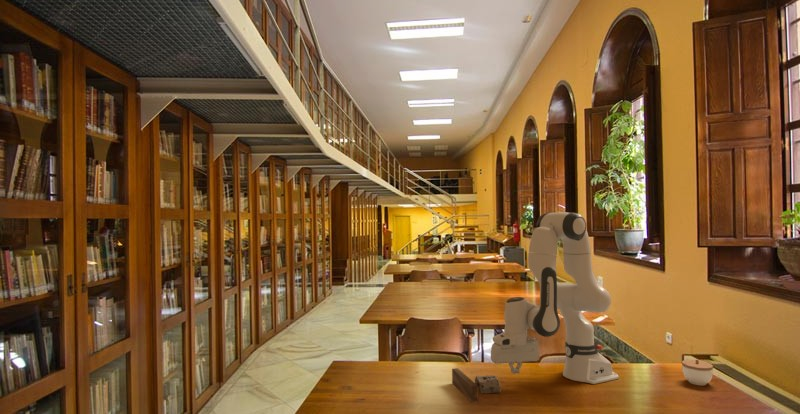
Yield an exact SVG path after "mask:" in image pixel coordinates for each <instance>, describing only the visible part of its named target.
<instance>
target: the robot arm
mask: <svg viewBox="0 0 800 414" xmlns="http://www.w3.org/2000/svg"><path fill="white" fill-rule="evenodd" d="M559 240H562V252H563V253H562V254H563V255H562V257H563V259H562V260H563V269H564V272H565V273H566V274H567V275H568V276H570V277H571V278H572V279H573V280H574V281H575V283H569V282H564V283H563V282H562V283H558V278H557V254H558V242H559ZM527 255H528V256H527V258H528V259H527V262H528V264H527V265H528V269H529V270H530V272H531V274H533V275H534V277H535V278H536V280H537V281H538V284H539V285H538V286H539V304H538V305H537V304H535V303H532V302H530V301H528V300H527V299H526V298H525V297H521V296H515V297H514V296H513V297H511V298H509V299H507V300H506V302H505V305H504V312H503V313H504V315H503V316H504V324H505V325H504V331H503V332H501V333H499V334H497V335H494V336H493V337H492V342H493V343H492V345H491V347H490V348H491V349H490V360H491V362H492V363H494V364H496V365H498V364H508V366H509V368H510V373H511V374H520V369H521V368H522V366H523V363H525V362H526V363H527V362H537V361H539V359H540V349H539V340H538V338H536V337H535V336H532V337H528V330H529V329H531V330H533V331H535V332H536V333H537V334H538V335H540V336H541V337H545V338H546V337H547V338H548V337H552V336H553V335H554V336H555V334H557V332H558V331H559V330H560V326H561V320H560V316H559V313H558V311H559V312H560V314H561V316H562V318H563V321H564V325H565V343H564V345H565V346H564V351H565V361H564V362H565V363H564V368H563V372H562V376H563V377H565V378H566V379H569V380H571V381H575V382H581V383H588V384H592V385H596V384H600V383H605V382H609V381H614V380H619V379H620V376H619V375H618V373H617V372H614V371H613V366H612V363H611V361H610V360H608V359H607V358H606V357H605V356H603V355H602V354H600V353H599V351H603V349H604V348H603V346H602V345H601V344H596V343H595V336H594V335H595V334H594V333H595V332H594V331H595V330H594V329H595V328H594V325H593V323H592V322H591V321H589V320H588V319H587V318H586V317H585V316H584V314H583V313H582V312H586V313H592V314H594V313H595V314H597V313H605V312H607V311H608V309H609V308H610V307H611V304H612V297H611V295H610V293H609V291H608V290H607V289H606V288H604V287H603V286H602V285H601V283H600V282H599V281H598V279H597V277H596V276H595V274H594V270H593V263H592V250H591V242H590V237H589V233H588V231H587V223H586V220H585V217H584V216H583V215H582V214H580V213H576V212H566V211H559V212H557V211H555V212H546V213H543V214H541V215H540V216H539V217H538V219H537V222H536V227H535V229H533V231H532V234H531V238H530V242H529V246H528V254H527ZM515 363H516V367H514V365H515Z"/></svg>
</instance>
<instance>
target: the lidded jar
mask: <svg viewBox="0 0 800 414" xmlns="http://www.w3.org/2000/svg"><path fill="white" fill-rule="evenodd" d="M681 369H682V374H683V376H684V378H685V379H686V380H687V381H688V382H689V383H690V384H691V385H695V386H706V385H707V384H708V383H710V382H711V380H712V378H713V373H714V365H713V364H712V363H709V362H706V361H703V360H699V359H698V358H696V359H684V360H682V361H681Z"/></svg>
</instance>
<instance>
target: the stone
mask: <svg viewBox="0 0 800 414" xmlns="http://www.w3.org/2000/svg"><path fill="white" fill-rule="evenodd" d="M474 383H475V384H476V385H477V388H479V392H480V393H481V394H498V393H501V385H500V382H499V378H498V377H496V376H495V375H476V376H475V378H474Z"/></svg>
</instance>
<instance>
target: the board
mask: <svg viewBox="0 0 800 414" xmlns="http://www.w3.org/2000/svg"><path fill="white" fill-rule="evenodd" d="M451 376H452V377H451V378H452V379H451V381H452V382H451V383H452V385H454V387H455V388H456V389H457V390H458V391H459V392H460V393H461V394H462V395H463V396H465V398H466V399H467V400H468V401H470V403H476V402H479V401H478V400H479V399H478V387H477V385H476V384H475V381H474V380H472V379H471V378H470V377H468V375H466V374H465V373H464V372H463V371H462V370H460V369H459V368H452V369H451Z"/></svg>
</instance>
